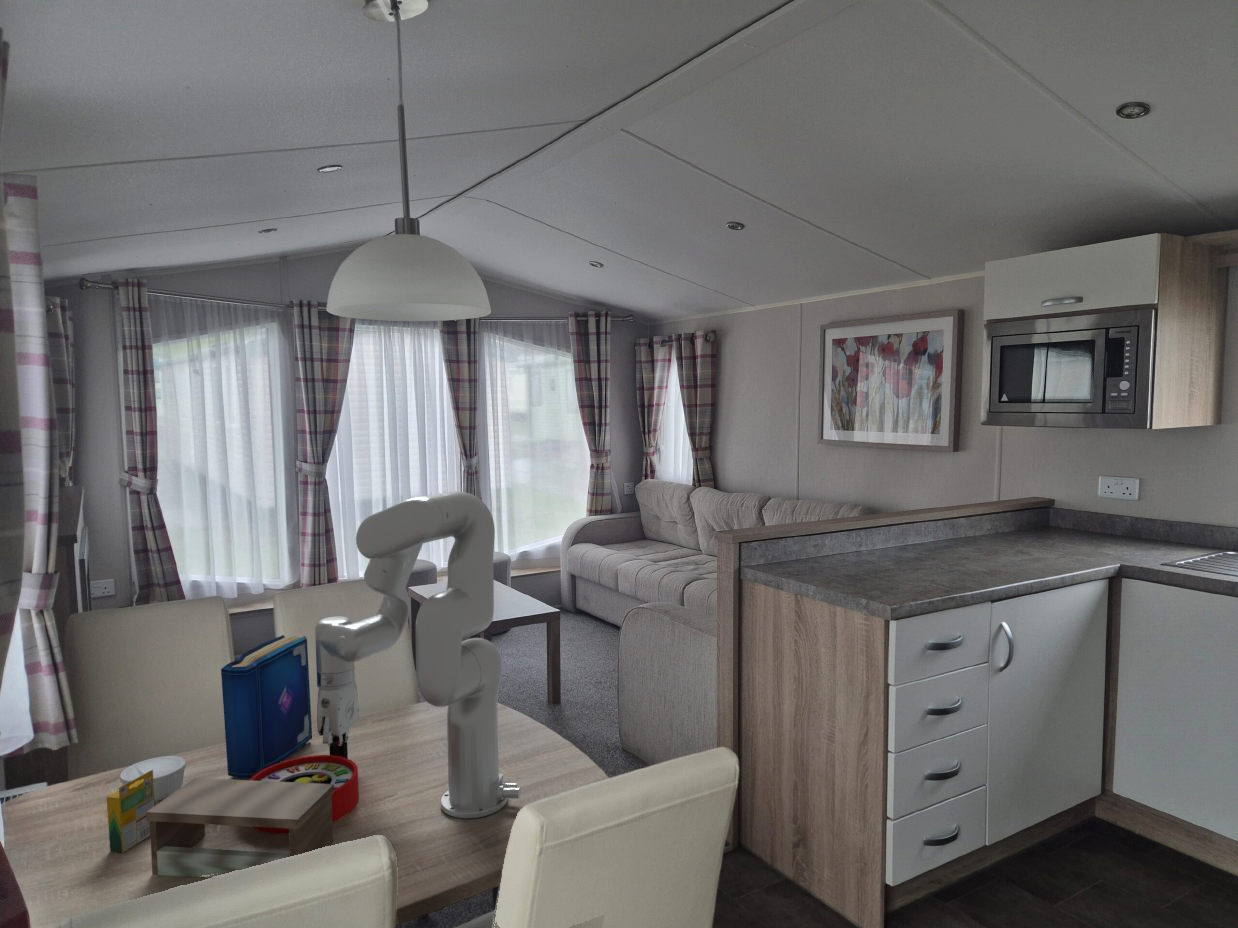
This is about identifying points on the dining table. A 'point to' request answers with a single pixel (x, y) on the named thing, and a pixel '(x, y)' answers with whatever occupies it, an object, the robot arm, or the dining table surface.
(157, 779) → the ramekin
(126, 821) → the crayon box
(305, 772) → the toy clock
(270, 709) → the book
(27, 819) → the dining table surface
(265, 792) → the walnut overhang
